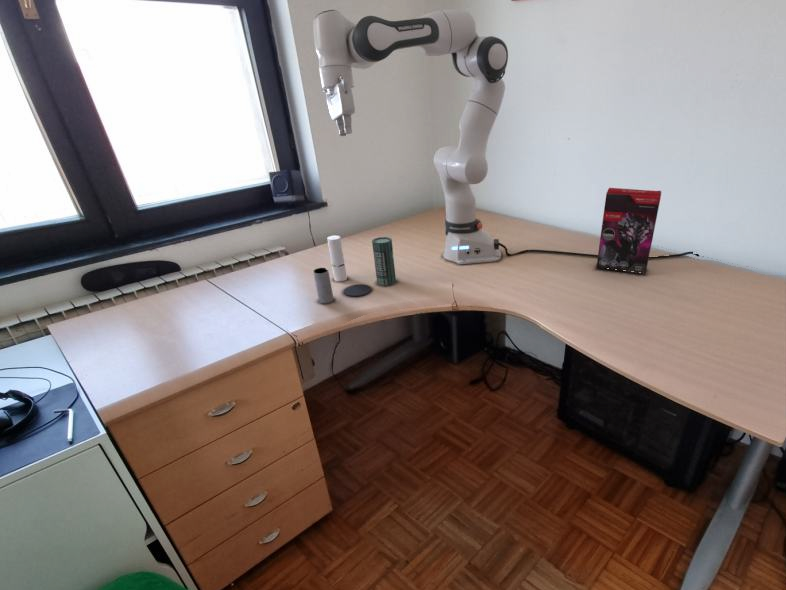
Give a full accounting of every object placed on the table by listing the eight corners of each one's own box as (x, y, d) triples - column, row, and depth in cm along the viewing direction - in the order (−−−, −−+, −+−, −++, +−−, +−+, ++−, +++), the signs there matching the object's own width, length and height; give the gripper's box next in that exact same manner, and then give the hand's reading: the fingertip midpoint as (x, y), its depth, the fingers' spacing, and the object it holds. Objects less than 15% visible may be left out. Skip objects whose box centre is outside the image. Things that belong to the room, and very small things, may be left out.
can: (398, 280, 158) (394, 238, 150) (389, 287, 154) (384, 244, 146) (383, 277, 161) (379, 236, 153) (374, 284, 156) (368, 241, 148)
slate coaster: (373, 285, 155) (373, 284, 155) (368, 296, 148) (368, 295, 147) (347, 285, 155) (347, 284, 155) (341, 297, 148) (340, 295, 148)
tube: (335, 276, 162) (328, 235, 154) (347, 276, 162) (341, 235, 154) (333, 281, 158) (326, 240, 150) (346, 281, 159) (339, 239, 151)
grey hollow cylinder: (336, 298, 147) (331, 268, 142) (328, 304, 143) (322, 274, 138) (324, 296, 148) (318, 266, 143) (316, 302, 145) (310, 272, 139)
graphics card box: (594, 269, 163) (606, 191, 148) (597, 262, 168) (608, 186, 154) (645, 276, 157) (662, 195, 143) (646, 268, 163) (662, 190, 148)
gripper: (355, 73, 120) (363, 131, 125) (342, 86, 137) (350, 136, 142) (331, 73, 117) (340, 132, 123) (321, 87, 135) (330, 138, 140)
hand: (345, 135), depth 133 cm, fingers open, 8 cm apart
